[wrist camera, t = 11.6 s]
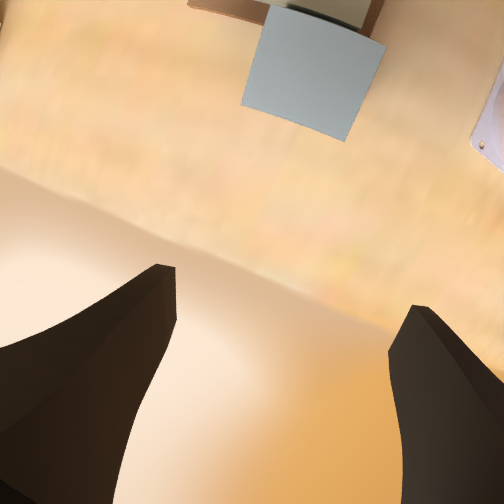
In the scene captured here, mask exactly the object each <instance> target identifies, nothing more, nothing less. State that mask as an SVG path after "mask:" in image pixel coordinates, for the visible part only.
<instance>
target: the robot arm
mask: <svg viewBox="0 0 504 504" xmlns="http://www.w3.org/2000/svg"><path fill="white" fill-rule="evenodd" d="M481 141H483V143H484V147H483V148H482V149H480V148H479V143H480V142H481ZM469 143H470V145H471V146H472V147H473V148H474V149H475V150H476V151H478V152H479V153H480V154H481V155H482V156H484V157H485V158H486V159H487V160H488V161H489V162H491V163H492V164H493V165H494V166H495V167H496V168H498V169H499V170H500V171H501V172H502V173H503V174H504V58H503V60H502V63H501V66H500V69H499V71H498V74H497V76H496V79H495V81H494V84H493V86H492V89H491V91H490V93H489V96H488V98H487V101H486V103H485V105H484V107H483V110H482V112H481V114H480V116H479V118H478V121H477V123H476V125H475V127H474V129H473V131H472V133H471V135H470V138H469ZM176 320H177V316H176V281H175V267H171V266H166V265H160V264H155V265H153V266H152V267H150V268H148V269H147V270H145V271H144V272H142V273H141V274H139V275H138V276H136V277H135V278H133V279H132V280H130V281H129V282H127V283H126V284H124V285H123V286H121V287H120V288H118V289H117V290H115V291H114V292H112V293H111V294H109V295H108V296H106V297H104V298H103V299H101V300H99V301H98V302H96V303H94V304H93V305H91V306H89V307H88V308H86V309H85V310H83V311H81V312H80V313H78V314H76V315H74V316H73V317H71V318H69V319H67V320H65V321H63V322H61V323H59V324H57V325H55V326H53V327H51V328H49V329H47V330H45V331H43V332H41V333H38V334H35V335H33V336H30V337H28V338H26V339H23V340H21V341H18V342H16V343H13V344H10V345H8V346H5V347H2V348H0V504H113V498H114V493H115V488H116V484H117V480H118V475H119V471H120V467H121V463H122V459H123V456H124V452H125V449H126V445H127V442H128V438H129V435H130V432H131V429H132V426H133V423H134V420H135V417H136V414H137V411H138V409H139V407H140V404H141V402H142V400H143V398H144V396H145V393H146V391H147V389H148V387H149V385H150V383H151V381H152V379H153V377H154V374H155V372H156V370H157V368H158V366H159V364H160V362H161V360H162V358H163V356H164V354H165V351H166V349H167V347H168V344H169V341H170V338H171V335H172V332H173V329H174V326H175V323H176ZM388 356H389V370H390V380H391V386H392V390H393V396H394V401H395V406H396V412H397V417H398V423H399V428H400V434H401V442H402V453H403V454H402V455H403V481H402V498H401V504H504V383H503V382H502V381H501V380H499V379H498V378H497V377H496V376H495V375H494V374H493V373H492V372H491V371H490V370H489V369H488V368H487V367H486V366H485V365H484V364H483V363H482V361H481V360H480V359H479V358H478V357H477V356H476V355H475V354H474V353H473V352H472V351H471V350H470V349H469V348H468V347H467V345H466V344H465V343H464V342H463V341H462V340H461V339H460V338H459V337H458V336H457V335H456V334H455V333H454V332H453V330H452V329H451V328H450V327H449V326H448V325H447V324H446V323H445V322H444V321H443V320H442V319H441V318H440V317H439V316H438V315H437V314H436V313H435V312H434V311H432V310H431V309H430V308H429V307H425V306H417V305H412V306H411V308H410V310H409V312H408V314H407V316H406V318H405V320H404V322H403V324H402V326H401V328H400V330H399V332H398V334H397V336H396V338H395V340H394V341H393V344H392V345H391V347H390V349H389V351H388Z"/></svg>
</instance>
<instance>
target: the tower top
mask: <svg viewBox="0 0 504 504" xmlns="http://www.w3.org/2000/svg"><path fill="white" fill-rule="evenodd" d="M255 1H259V2H263V3H267V4H271V5H276V6H281V7H285V8H289V9H292V10H296V11H299V12H302V13H305V14H309V15H312V16H315V17H318V18H320V19H323V20H326V21H329V22H332V23H334V24H337V25H340V26H342V27H345V28H347V29H350V30H352V31H355V32H358V31H359V30H360V29H361V28H362V25H363V22H364V20H365V17H366V14H367V11H368V8H369V6H370V3H371V0H255Z"/></svg>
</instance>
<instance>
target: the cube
mask: <svg viewBox="0 0 504 504" xmlns="http://www.w3.org/2000/svg"><path fill="white" fill-rule="evenodd" d="M386 48H387V47H386V46H384V45H383V44H381V43H379V42H377V41H375V40H373V39H371V38H369V37H366V36H364V35H362V34H359V33H357V32H355V31H352V30H350V29H347V28H345V27H342V26H340V25H337V24H334V23H332V22H329V21H326V20H323V19H320V18H318V17H315V16H312V15H309V14H305V13H302V12H299V11H296V10H292V9H289V8H285V7H281V6H276V5H270V8H269V11H268V14H267V18H266V21H265V24H264V27H263V30H262V33H261V37H260V40H259V43H258V47H257V50H256V53H255V57H254V60H253V63H252V67H251V70H250V74H249V77H248V80H247V84H246V87H245V91H244V95H243V98H242V102H241V105H243V106H246V107H249V108H252V109H256V110H259V111H262V112H265V113H268V114H271V115H274V116H277V117H280V118H283V119H286V120H289V121H291V122H294V123H297V124H300V125H302V126H305V127H308V128H310V129H313V130H316V131H318V132H321V133H323V134H326V135H328V136H331V137H333V138H336V139H338V140H341V141H343V142H345V140H346V137H347V135H348V133H349V131H350V129H351V127H352V124H353V122H354V120H355V118H356V116H357V113H358V111H359V109H360V107H361V105H362V102H363V100H364V98H365V96H366V93H367V91H368V89H369V87H370V84H371V82H372V80H373V78H374V75H375V73H376V71H377V69H378V66H379V64H380V62H381V59H382V57H383V55H384V52H385V50H386Z"/></svg>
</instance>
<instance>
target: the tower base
mask: <svg viewBox="0 0 504 504" xmlns="http://www.w3.org/2000/svg"><path fill="white" fill-rule="evenodd" d="M384 1H385V0H371V3H370V6H369V8H368V11H367V14H366V17H365V20H364V22H363V25H362V28H361V29H360V30H359V31H358V32H357V33H359V34H362V35H364V36H366V37H370V34H371V32H372V30H373V27H374V25H375V22H376V20H377V18H378V15H379V13H380V10H381V8H382V6H383V3H384ZM187 5H188V6H189V7H191V8H195V9H200V10H205V11H209V12H214V13H218V14H222V15H226V16H230V17H234V18H238V19H241V20H245V21H248V22H252V23H255V24H259V25H262V26H264V24H265V21H266V18H267V14H268V11H269V8H270V5H271V4H267V3H263V2H259V1H255V0H189V1H188V3H187Z"/></svg>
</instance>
